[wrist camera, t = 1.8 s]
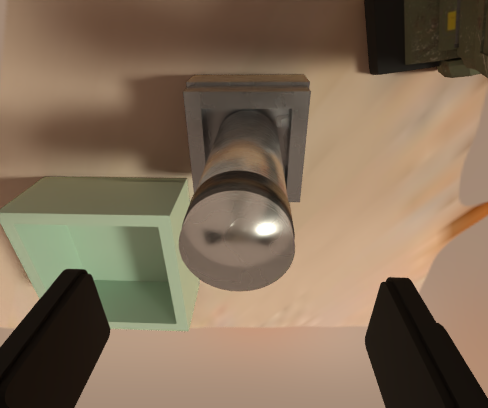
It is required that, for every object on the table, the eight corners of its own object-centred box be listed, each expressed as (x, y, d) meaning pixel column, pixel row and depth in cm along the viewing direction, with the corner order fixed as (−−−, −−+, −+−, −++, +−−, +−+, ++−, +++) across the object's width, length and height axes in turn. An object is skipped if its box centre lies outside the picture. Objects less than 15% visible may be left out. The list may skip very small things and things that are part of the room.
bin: (44, 176, 27) (-5, 212, 22) (186, 178, 27) (169, 215, 22) (84, 280, 34) (54, 326, 29) (199, 283, 34) (188, 331, 29)
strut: (214, 109, 21) (169, 198, 10) (280, 109, 20) (301, 200, 10) (218, 169, 23) (184, 290, 13) (277, 170, 23) (291, 293, 13)
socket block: (194, 74, 22) (179, 88, 18) (303, 74, 22) (314, 87, 18) (203, 173, 27) (192, 202, 22) (295, 174, 26) (302, 204, 22)
